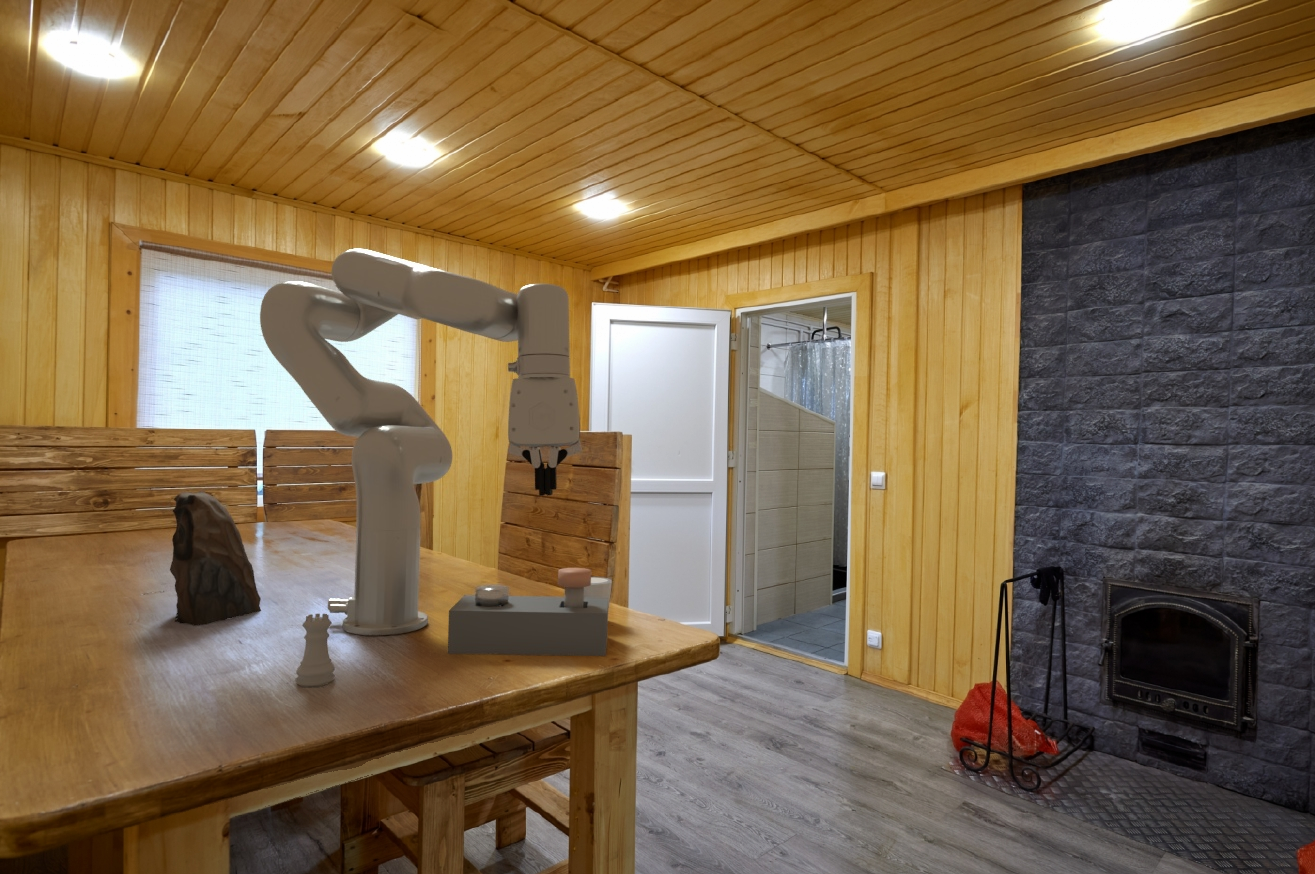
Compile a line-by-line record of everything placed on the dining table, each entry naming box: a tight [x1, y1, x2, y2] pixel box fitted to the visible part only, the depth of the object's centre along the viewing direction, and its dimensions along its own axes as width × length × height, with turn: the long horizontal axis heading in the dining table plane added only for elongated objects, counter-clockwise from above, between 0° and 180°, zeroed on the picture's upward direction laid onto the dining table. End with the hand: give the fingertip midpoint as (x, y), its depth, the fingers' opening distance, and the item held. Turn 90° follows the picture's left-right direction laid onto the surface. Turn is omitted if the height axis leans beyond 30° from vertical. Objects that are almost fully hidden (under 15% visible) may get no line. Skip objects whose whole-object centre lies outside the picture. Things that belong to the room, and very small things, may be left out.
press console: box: [447, 594, 609, 657], centre depth 105 cm, size 22×10×6 cm, turn 93°
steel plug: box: [474, 584, 510, 606], centre depth 105 cm, size 5×5×8 cm
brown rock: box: [169, 490, 262, 627], centre depth 116 cm, size 13×13×20 cm
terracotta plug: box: [557, 567, 592, 608], centre depth 105 cm, size 5×5×8 cm
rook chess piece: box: [294, 613, 336, 688], centre depth 87 cm, size 4×4×8 cm
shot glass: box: [584, 576, 613, 612], centre depth 120 cm, size 7×7×7 cm
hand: (545, 494), depth 105 cm, fingers closed
